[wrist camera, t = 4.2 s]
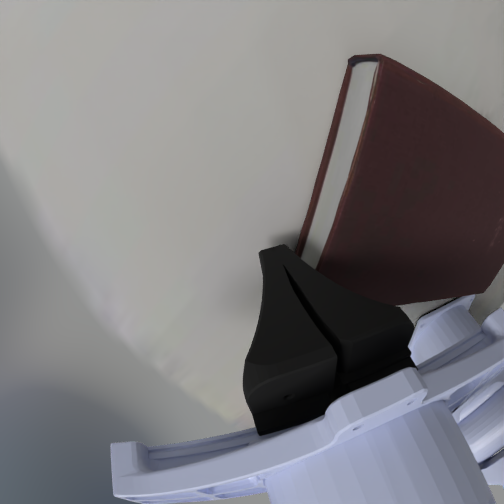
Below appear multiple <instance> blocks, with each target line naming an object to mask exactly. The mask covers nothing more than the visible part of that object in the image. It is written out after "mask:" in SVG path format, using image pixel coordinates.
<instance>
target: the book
mask: <svg viewBox="0 0 504 504" xmlns="http://www.w3.org/2000/svg"><path fill="white" fill-rule="evenodd" d="M295 254H296V255H297V256H298V257H300V258H301V259H302V260H303V261H305V262H306V263H307V264H308V265H310V266H311V267H312V268H314V269H315V270H316V271H318V272H319V273H321V274H322V275H324V276H325V277H327V278H328V279H330V280H331V281H333V282H335V283H337V284H338V285H340V286H342V287H344V288H346V289H348V290H350V291H352V292H355V293H357V294H359V295H361V296H364V297H366V298H369V299H372V300H375V301H378V302H381V303H385V304H389V305H393V306H396V305H404V304H409V303H416V302H426V301H433V300H440V299H446V298H453V297H461V296H468V295H474V294H480V293H484V292H485V290H486V289H487V288H488V287H489V286H490V284H491V283H492V281H493V280H494V278H495V276H496V275H497V273H498V272H499V270H500V269H501V267H502V265H503V264H504V133H503V132H502V131H501V130H500V129H498V128H497V127H496V126H495V125H493V124H492V123H491V122H490V121H488V120H487V119H486V118H484V117H483V116H482V115H480V114H479V113H477V112H476V111H475V110H473V109H472V108H471V107H469V106H468V105H467V104H465V103H464V102H463V101H461V100H460V99H458V98H457V97H455V96H454V95H452V94H451V93H449V92H448V91H446V90H445V89H443V88H442V87H440V86H439V85H437V84H436V83H434V82H432V81H431V80H429V79H427V78H426V77H424V76H422V75H420V74H419V73H417V72H415V71H413V70H412V69H410V68H408V67H406V66H404V65H403V64H401V63H399V62H397V61H395V60H393V59H391V58H389V57H386V56H384V55H382V54H367V55H354V56H353V57H351V58H350V59H348V66H347V69H346V73H345V77H344V80H343V84H342V87H341V90H340V94H339V98H338V102H337V105H336V109H335V113H334V117H333V121H332V125H331V128H330V132H329V135H328V139H327V143H326V146H325V150H324V154H323V158H322V161H321V164H320V168H319V171H318V175H317V178H316V182H315V186H314V190H313V194H312V198H311V202H310V205H309V208H308V212H307V215H306V218H305V221H304V224H303V227H302V230H301V234H300V238H299V242H298V245H297V248H296V251H295Z"/></svg>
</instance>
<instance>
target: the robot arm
mask: <svg viewBox="0 0 504 504" xmlns="http://www.w3.org/2000/svg"><path fill="white" fill-rule="evenodd" d="M259 258H260V263H261V268H262V273H263V294H262V303H261V310H260V315H259V320H258V324H257V328H256V332H255V335H254V338H253V341H252V344H251V347H250V349H249V352H248V354H247V357H246V359H245V365H244V373H243V391H244V395H245V399H246V402H247V405H248V407H249V409H250V411H251V413H252V415H253V419H254V422H255V426H256V427H254V428H250V429H246V430H242V431H238V432H234V433H229V434H224V435H220V436H215V437H210V438H204V439H199V440H193V441H187V442H181V443H174V444H167V445H160V446H150V447H147V446H146V445H144V444H143V443H141V442H136V441H129V442H116V443H111V463H112V480H113V493H114V496H115V497H119V498H122V499H125V500H130V501H133V502H137V503H142V504H162V503H184V502H198V501H210V500H219V499H227V498H234V497H241V496H247V495H254V494H259V493H264V492H267V493H268V496H269V499H270V503H271V504H496V502H495V499H494V497H493V495H492V493H491V490H490V488H489V486H488V485H502V486H503V489H504V449H503V450H501V449H502V448H503V447H504V310H503V309H502V308H499V309H497V310H496V311H494V312H493V313H491V314H490V315H489V316H487V318H486V319H485V320H484V321H483V323H482V325H481V327H480V325H479V324H478V323H477V322H476V320H475V319H474V318H473V317H472V315H471V314H470V313H469V312H468V310H469V308H470V306H471V303H472V301H473V299H474V297H475V295H476V294H474V295H468V296H462V297H460V298H458V299H456V300H454V301H452V302H451V303H449V304H447V305H445V306H443V307H441V308H439V309H437V310H435V311H433V312H431V313H429V314H427V315H425V316H423V317H421V318H420V319H419V320H418V322H417V325H416V328H415V330H414V325H413V323H412V322H411V320H410V319H409V318H408V316H407V315H406V314H405V313H404V312H403V311H402V310H401V308H400V307H397V306H393V305H389V304H385V303H381V302H378V301H375V300H372V299H369V298H366V297H364V296H361V295H359V294H357V293H355V292H352V291H350V290H348V289H346V288H344V287H342V286H340V285H338V284H337V283H335V282H333V281H331V280H330V279H328V278H327V277H325V276H324V275H322V274H321V273H319V272H318V271H316V270H315V269H314V268H312V267H311V266H310V265H308V264H307V263H306V262H305V261H303V260H302V259H301V258H300V257H298V256H297V255H296V254H295V253H294V252H293V251H292V250H290V249H289V248H288V247H287V246H286V245H284V244H283V245H279V246H275V247H272V248H268V249H265V250H261V251H260V252H259ZM413 331H414V333H413ZM411 337H412V338H411ZM409 342H410V343H409ZM408 344H409V345H408ZM499 450H501V451H500V452H499V453H497V454H496V455H494V454H495V453H496V452H498V451H499ZM493 455H494V456H493ZM491 456H492V457H491Z"/></svg>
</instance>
